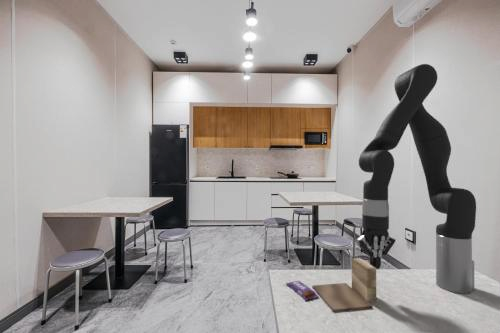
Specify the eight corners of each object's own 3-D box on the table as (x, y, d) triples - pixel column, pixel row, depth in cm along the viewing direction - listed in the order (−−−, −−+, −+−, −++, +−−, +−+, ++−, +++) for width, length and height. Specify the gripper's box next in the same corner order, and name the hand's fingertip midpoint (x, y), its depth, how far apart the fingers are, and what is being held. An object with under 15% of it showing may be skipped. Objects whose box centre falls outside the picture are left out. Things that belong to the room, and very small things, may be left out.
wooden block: (360, 288, 81) (360, 258, 81) (376, 301, 73) (376, 267, 73) (351, 289, 80) (351, 258, 80) (367, 302, 72) (367, 268, 72)
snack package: (285, 280, 83) (297, 278, 85) (285, 286, 83) (297, 283, 85) (306, 296, 73) (319, 293, 75) (306, 303, 73) (319, 300, 75)
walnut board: (345, 284, 83) (345, 283, 83) (372, 308, 69) (372, 305, 69) (312, 287, 81) (312, 285, 81) (333, 311, 67) (333, 309, 67)
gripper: (385, 210, 82) (385, 262, 82) (349, 211, 80) (349, 264, 80) (403, 215, 75) (402, 271, 75) (363, 216, 73) (363, 274, 73)
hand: (375, 268), depth 77 cm, fingers closed
